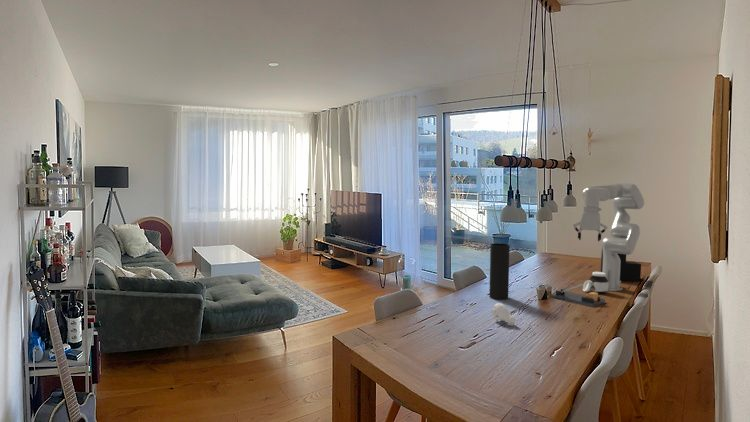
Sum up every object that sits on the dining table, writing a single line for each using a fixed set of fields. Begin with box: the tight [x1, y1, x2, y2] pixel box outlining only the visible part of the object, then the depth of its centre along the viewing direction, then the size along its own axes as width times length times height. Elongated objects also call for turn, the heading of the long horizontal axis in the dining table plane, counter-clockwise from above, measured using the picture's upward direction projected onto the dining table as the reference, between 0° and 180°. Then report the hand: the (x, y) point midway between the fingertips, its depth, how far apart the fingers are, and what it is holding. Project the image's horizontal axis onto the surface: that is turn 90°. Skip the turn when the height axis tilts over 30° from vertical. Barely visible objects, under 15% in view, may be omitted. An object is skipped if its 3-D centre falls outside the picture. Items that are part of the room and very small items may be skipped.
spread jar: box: [582, 271, 609, 295], centre depth 267 cm, size 12×11×12 cm
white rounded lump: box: [491, 302, 516, 327], centre depth 211 cm, size 6×8×12 cm
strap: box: [559, 282, 584, 293], centre depth 254 cm, size 4×14×1 cm, turn 38°
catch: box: [585, 291, 599, 301], centre depth 245 cm, size 5×5×4 cm
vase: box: [488, 242, 511, 301], centre depth 255 cm, size 10×10×30 cm
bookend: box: [600, 248, 645, 282], centre depth 300 cm, size 23×11×24 cm, turn 84°
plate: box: [549, 288, 606, 308], centre depth 251 cm, size 14×24×4 cm, turn 38°
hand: (589, 240), depth 255 cm, fingers open, 9 cm apart
